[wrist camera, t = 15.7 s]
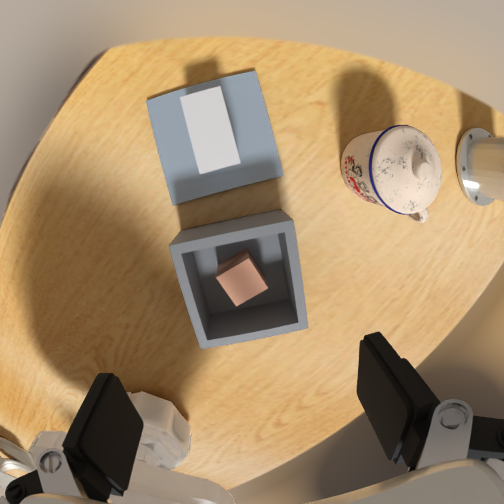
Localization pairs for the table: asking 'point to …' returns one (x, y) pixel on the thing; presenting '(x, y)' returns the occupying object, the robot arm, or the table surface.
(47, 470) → the robot arm
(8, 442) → the portable electronic device stand
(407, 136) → the teacup with lid
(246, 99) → the lid
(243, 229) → the storage box
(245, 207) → the table surface
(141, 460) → the white tiered tall piece
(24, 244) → the table surface
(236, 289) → the block
